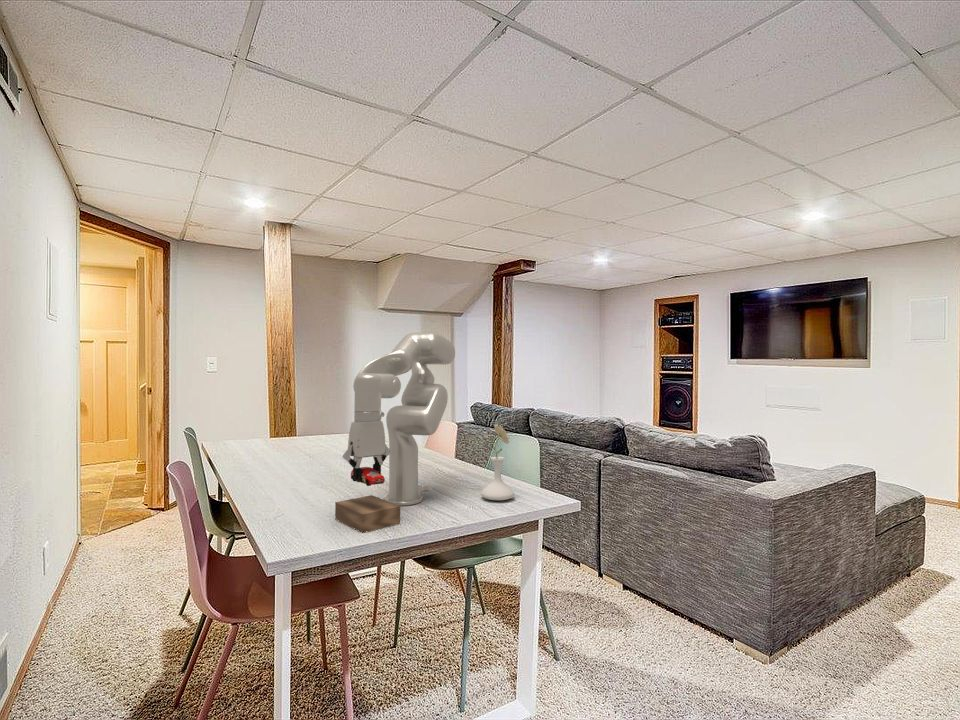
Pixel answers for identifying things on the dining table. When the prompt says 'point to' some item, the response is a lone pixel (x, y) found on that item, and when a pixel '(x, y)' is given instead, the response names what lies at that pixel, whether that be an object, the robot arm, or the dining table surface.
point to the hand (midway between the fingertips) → (367, 479)
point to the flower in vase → (498, 474)
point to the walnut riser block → (367, 513)
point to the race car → (370, 476)
